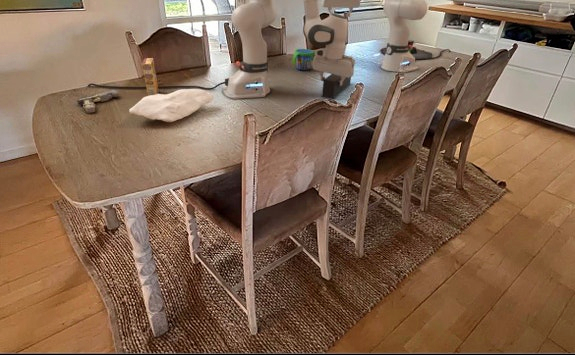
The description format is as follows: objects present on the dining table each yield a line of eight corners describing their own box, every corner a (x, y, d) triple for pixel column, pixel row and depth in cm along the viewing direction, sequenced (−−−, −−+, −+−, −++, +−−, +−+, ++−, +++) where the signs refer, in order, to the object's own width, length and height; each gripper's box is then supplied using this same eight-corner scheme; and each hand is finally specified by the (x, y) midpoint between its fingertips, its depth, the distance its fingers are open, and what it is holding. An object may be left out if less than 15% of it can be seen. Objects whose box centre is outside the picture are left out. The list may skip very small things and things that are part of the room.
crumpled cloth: (117, 110, 146) (113, 90, 140) (195, 92, 166) (194, 73, 160) (143, 139, 134) (140, 118, 128) (223, 116, 154) (224, 96, 148)
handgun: (128, 97, 156) (111, 87, 164) (86, 107, 144) (70, 97, 152) (129, 103, 157) (113, 94, 165) (88, 114, 146) (72, 103, 154)
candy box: (157, 97, 164) (152, 63, 155) (147, 98, 163) (141, 63, 155) (158, 91, 171) (153, 57, 163) (149, 91, 170) (143, 58, 162)
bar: (332, 98, 171) (334, 81, 167) (322, 96, 173) (323, 79, 169) (350, 84, 190) (352, 68, 186) (340, 82, 192) (342, 66, 188)
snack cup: (308, 65, 218) (310, 47, 212) (319, 69, 210) (321, 51, 205) (287, 68, 210) (287, 50, 205) (297, 73, 203) (298, 54, 197)
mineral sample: (442, 55, 248) (445, 41, 243) (409, 61, 230) (411, 46, 226) (402, 47, 272) (404, 34, 268) (369, 52, 255) (370, 39, 251)
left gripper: (358, 56, 163) (353, 86, 171) (319, 47, 172) (316, 76, 180) (352, 59, 159) (348, 89, 166) (312, 50, 168) (309, 79, 175)
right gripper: (359, -13, 188) (355, 15, 196) (321, -14, 185) (319, 15, 192) (364, -12, 183) (360, 17, 191) (325, -13, 179) (322, 17, 187)
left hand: (331, 82), depth 173 cm, fingers open, 8 cm apart
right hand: (339, 16), depth 191 cm, fingers open, 8 cm apart
